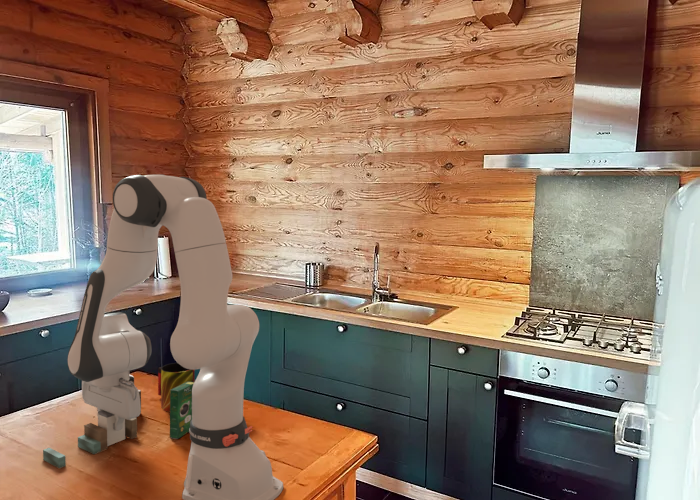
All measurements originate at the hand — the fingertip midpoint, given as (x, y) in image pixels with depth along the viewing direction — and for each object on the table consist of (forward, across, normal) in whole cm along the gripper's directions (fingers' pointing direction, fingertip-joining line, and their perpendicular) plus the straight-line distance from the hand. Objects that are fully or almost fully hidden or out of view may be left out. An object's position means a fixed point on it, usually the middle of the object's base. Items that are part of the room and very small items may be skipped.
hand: (111, 426), depth 138 cm
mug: (+4, +7, -25) cm, 26 cm away
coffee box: (+4, -11, -14) cm, 18 cm away
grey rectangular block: (+4, 0, 0) cm, 4 cm away
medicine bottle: (+4, +11, -11) cm, 16 cm away
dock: (+4, 0, +5) cm, 6 cm away
